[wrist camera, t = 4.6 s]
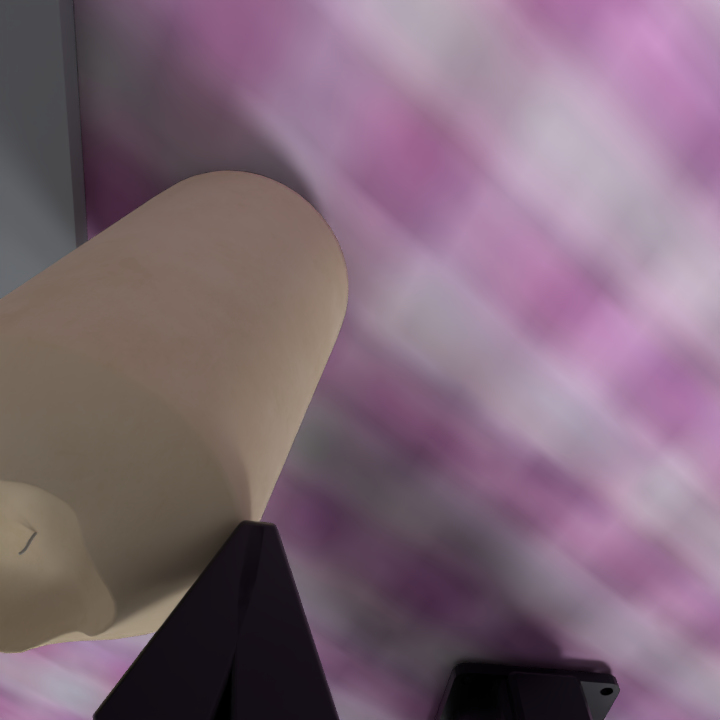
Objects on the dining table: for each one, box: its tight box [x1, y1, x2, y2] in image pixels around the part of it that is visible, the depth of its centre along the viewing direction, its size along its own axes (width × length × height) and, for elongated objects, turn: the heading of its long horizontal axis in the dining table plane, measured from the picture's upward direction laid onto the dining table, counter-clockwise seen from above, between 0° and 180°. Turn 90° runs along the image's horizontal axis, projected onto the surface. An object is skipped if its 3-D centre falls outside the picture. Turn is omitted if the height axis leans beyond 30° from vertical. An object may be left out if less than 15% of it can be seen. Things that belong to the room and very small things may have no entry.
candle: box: [0, 170, 348, 653], centre depth 13 cm, size 6×6×10 cm
